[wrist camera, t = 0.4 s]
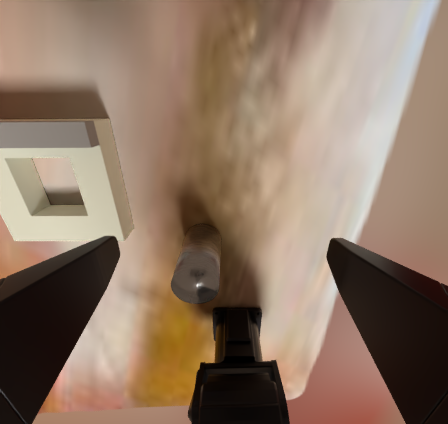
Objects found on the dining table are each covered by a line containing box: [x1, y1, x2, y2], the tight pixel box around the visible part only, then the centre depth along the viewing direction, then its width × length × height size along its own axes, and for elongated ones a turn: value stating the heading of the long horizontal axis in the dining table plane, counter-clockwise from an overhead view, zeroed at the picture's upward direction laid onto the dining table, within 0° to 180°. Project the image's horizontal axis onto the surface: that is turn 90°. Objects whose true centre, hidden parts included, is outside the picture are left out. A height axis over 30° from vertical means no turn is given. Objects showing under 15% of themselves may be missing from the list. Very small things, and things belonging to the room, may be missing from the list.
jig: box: [0, 119, 134, 241], centre depth 20 cm, size 11×11×4 cm
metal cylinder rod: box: [171, 224, 221, 304], centre depth 21 cm, size 4×4×7 cm
